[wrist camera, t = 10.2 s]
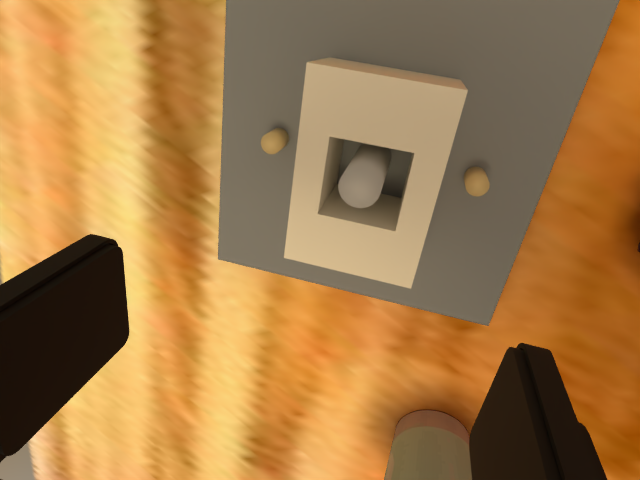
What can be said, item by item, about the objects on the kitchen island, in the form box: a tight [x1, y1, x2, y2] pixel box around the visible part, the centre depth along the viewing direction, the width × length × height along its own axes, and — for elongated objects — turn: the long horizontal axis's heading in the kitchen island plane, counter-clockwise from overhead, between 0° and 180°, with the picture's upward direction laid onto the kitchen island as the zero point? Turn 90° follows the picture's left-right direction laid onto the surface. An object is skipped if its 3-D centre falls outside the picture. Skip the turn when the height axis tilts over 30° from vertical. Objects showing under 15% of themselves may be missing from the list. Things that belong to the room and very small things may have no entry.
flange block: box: [284, 57, 468, 289], centre depth 23 cm, size 10×7×5 cm
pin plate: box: [218, 0, 619, 326], centre depth 23 cm, size 19×19×7 cm
